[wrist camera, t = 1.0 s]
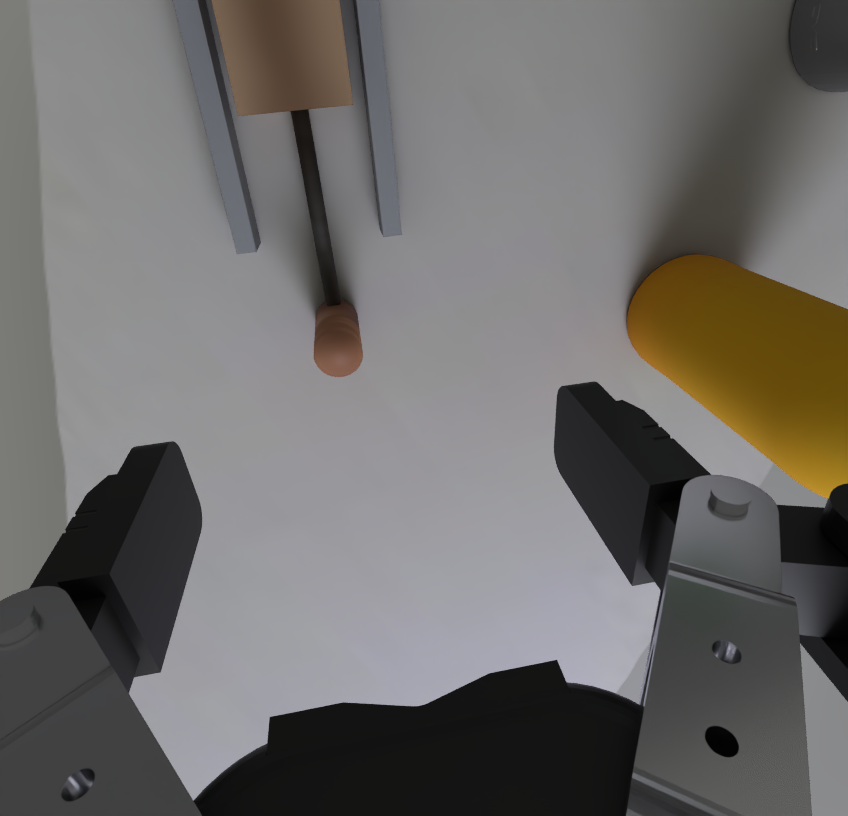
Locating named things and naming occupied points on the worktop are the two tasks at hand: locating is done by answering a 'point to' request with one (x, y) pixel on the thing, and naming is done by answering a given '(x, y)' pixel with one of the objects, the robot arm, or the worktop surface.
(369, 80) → the lane
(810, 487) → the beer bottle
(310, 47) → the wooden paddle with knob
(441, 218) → the worktop surface
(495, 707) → the robot arm
